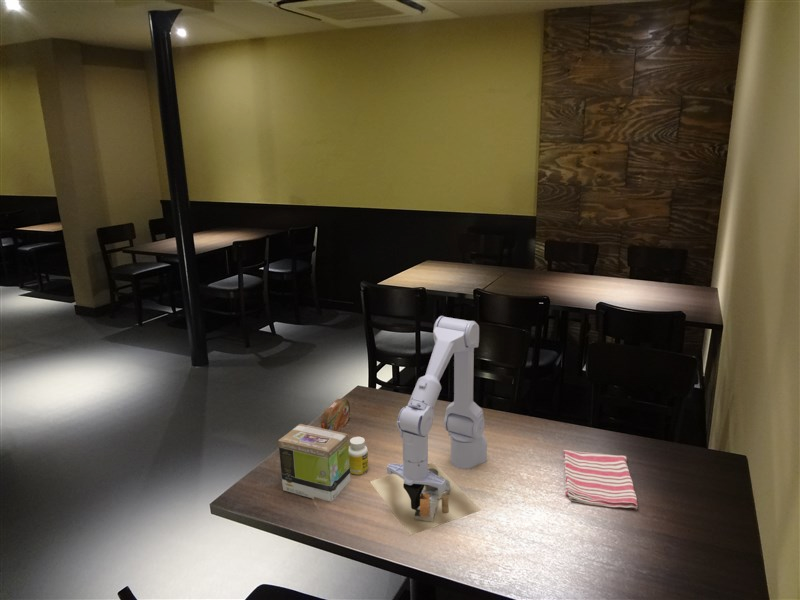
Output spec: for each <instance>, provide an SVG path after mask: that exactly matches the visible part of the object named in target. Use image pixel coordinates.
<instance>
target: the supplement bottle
mask: <svg viewBox="0 0 800 600" xmlns="http://www.w3.org/2000/svg"><path fill="white" fill-rule="evenodd" d="M349 462H350V475H351V476H363V475H365V474H367V472H368V471H369V450H368V446H366V440H365V438H364V437H361V436H353V437H352V438H350V439H349Z"/></svg>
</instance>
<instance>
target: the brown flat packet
mask: <svg viewBox="0 0 800 600" xmlns="http://www.w3.org/2000/svg"><path fill="white" fill-rule="evenodd" d="M350 413H351V407H350V403H349V400H348V399H346V398H337V399H336V400H334V401H333V402H332V403H331V404H330V405H329V406H328V407H327V408H326V409H325V410H324V411H323V413H322V416H321V419H320V426H321V427H320V428H323V429H327V430H332V431H337V432H341V430H342V429H343V428H344V427H345V426H346V425H347V423H348V421H349V420H350V419H349V418H350Z"/></svg>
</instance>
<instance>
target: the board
mask: <svg viewBox="0 0 800 600" xmlns="http://www.w3.org/2000/svg"><path fill="white" fill-rule="evenodd" d="M431 468H432V469H436V470H437V471H438V475H440V477H442V476H443V477H444V478H445V479H446V480H448V481H449V483H450V490H449V494H447V495H448V496H449V512H448V513H443V512H442V498H440V499H438V502H437V507H436V512H435V516H434V521H433V522H432V521H423V520H415V519H414V516H415V512H416V510H414V509H412V508H411V499H410V497H409V495H408V493H407V491H406V490H405V489H404V487H403V484H404V479H402V478H401V477H399V476H398V475H396V474H393V473H392V474H391V475H390V474H388V475H387V476H383V477H380V478H376V479H373V480H370V481H369V482H370V484H371V485H372V487H373V488H374V489H375V490H376V492H377V493H378V495H379V497H380V498H382V500H383V502H385V504H386V505H387V507H388V508H389V509H390V511H392V513H393V514H394V516H395V517H396V518H397V520H398V521H399V522H400V524H401V525H402V526H403V528H404V530H406V532H407V534H409V536H413V535H415V534H418V533H421V532H424V531H425V530H428V529H429V530H430V529H432V528H434V527H437V526H441V525H443V524H446V523H449V522H451V521H455V520H458V519H460V518H463V517H465V516H468V515H471V514H474V513H477V512H480V511H482V509H481V508H480V507H479V506H478V505H477V503H475V502H474V500H472V499H471V498H470V497H469V496H468V495H467V494H466V493H465V491H463V490H462V489H461V488H460V487H459V486H458V485H457V483H455V482H454V481H453V480H452V479H451V478H450V477H449V476H448V475H447V474H446V473H445V472H444V471H443V470H442V469H441V467H439V466H438V465H437V464H436V463H435V462H428V469H431ZM424 489H425V486H424Z"/></svg>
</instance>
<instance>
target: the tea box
mask: <svg viewBox="0 0 800 600" xmlns="http://www.w3.org/2000/svg"><path fill="white" fill-rule="evenodd" d="M277 443H278V452H279V453H278V454H279V461H280V462H279V463H280V473H281V474H280V475H281V481H282V482H281V484H282V490H283V491H284V492H285V491H286V492H289V493H292V494H295V495H298V496H303V497H307V498H310V499H312V500H314V499H315V498H316V499H320V500H323V501H328V502H333V501H334V500H335V499H336V498H337V496H339V494H340V493H341V492H342V491H343V489H345V488H346V487H347V485H349V483H351V474H350V462H349V447H350V444H349V434H348V433H346V432H341V431H339V432H337V431H332V430H327V429H323V428H321V427H318V426H312V425H307V424H303V423H299V424H297V425H296V426H295V427H294V428H292V429H291V430H289V432H287V433H286V434H284V436H282V437H281V438H279V439H278V442H277Z"/></svg>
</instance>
